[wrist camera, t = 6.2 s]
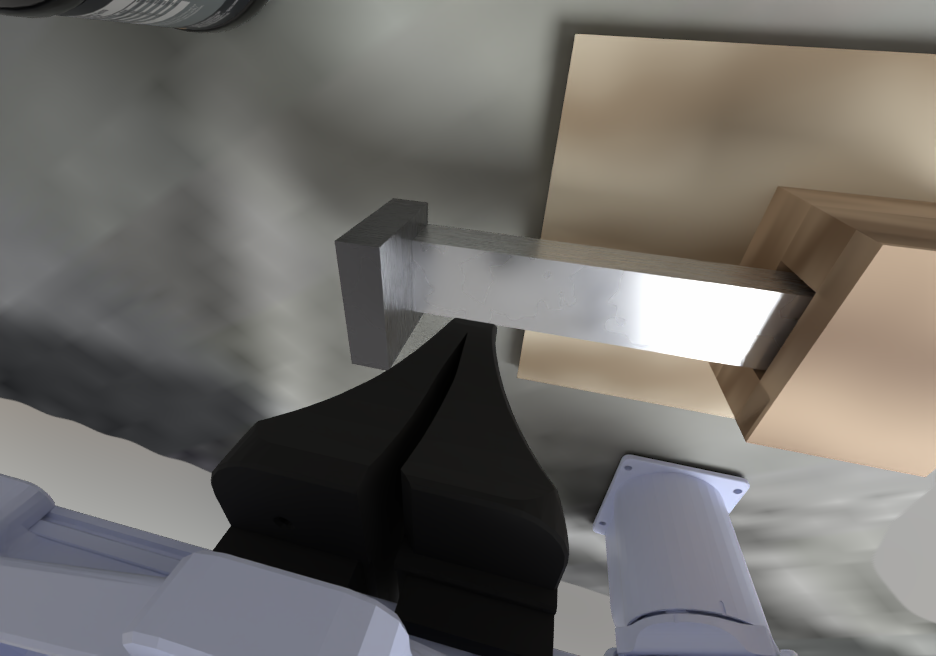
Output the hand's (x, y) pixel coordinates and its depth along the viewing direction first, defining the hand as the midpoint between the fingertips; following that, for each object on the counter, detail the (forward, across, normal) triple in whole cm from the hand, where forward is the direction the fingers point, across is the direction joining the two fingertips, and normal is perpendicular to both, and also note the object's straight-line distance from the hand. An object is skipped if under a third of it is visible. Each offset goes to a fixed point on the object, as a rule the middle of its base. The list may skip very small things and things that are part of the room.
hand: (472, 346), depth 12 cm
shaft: (+6, -5, 0) cm, 8 cm away
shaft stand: (+10, -16, 0) cm, 19 cm away
